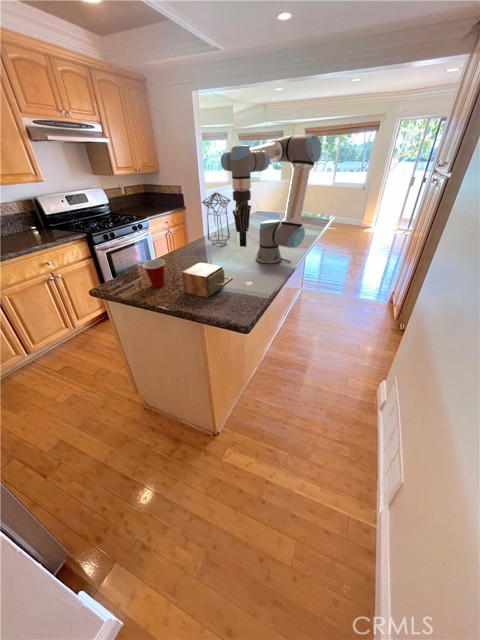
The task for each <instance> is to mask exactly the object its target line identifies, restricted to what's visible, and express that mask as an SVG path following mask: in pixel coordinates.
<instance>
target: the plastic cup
mask: <svg viewBox="0 0 480 640" xmlns="http://www.w3.org/2000/svg"><path fill="white" fill-rule="evenodd" d="M165 265H166V261H165V260H164V259H161V258H159V259H158V258H155V259H154V258H153V259H150V260H147V261H145V262H144V263H143V264H142V267H143V268H144V271H146V274H147V276H148V279H149V281H150V283H151V285H152V287H153V288H161V287H164V286H165Z"/></svg>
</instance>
